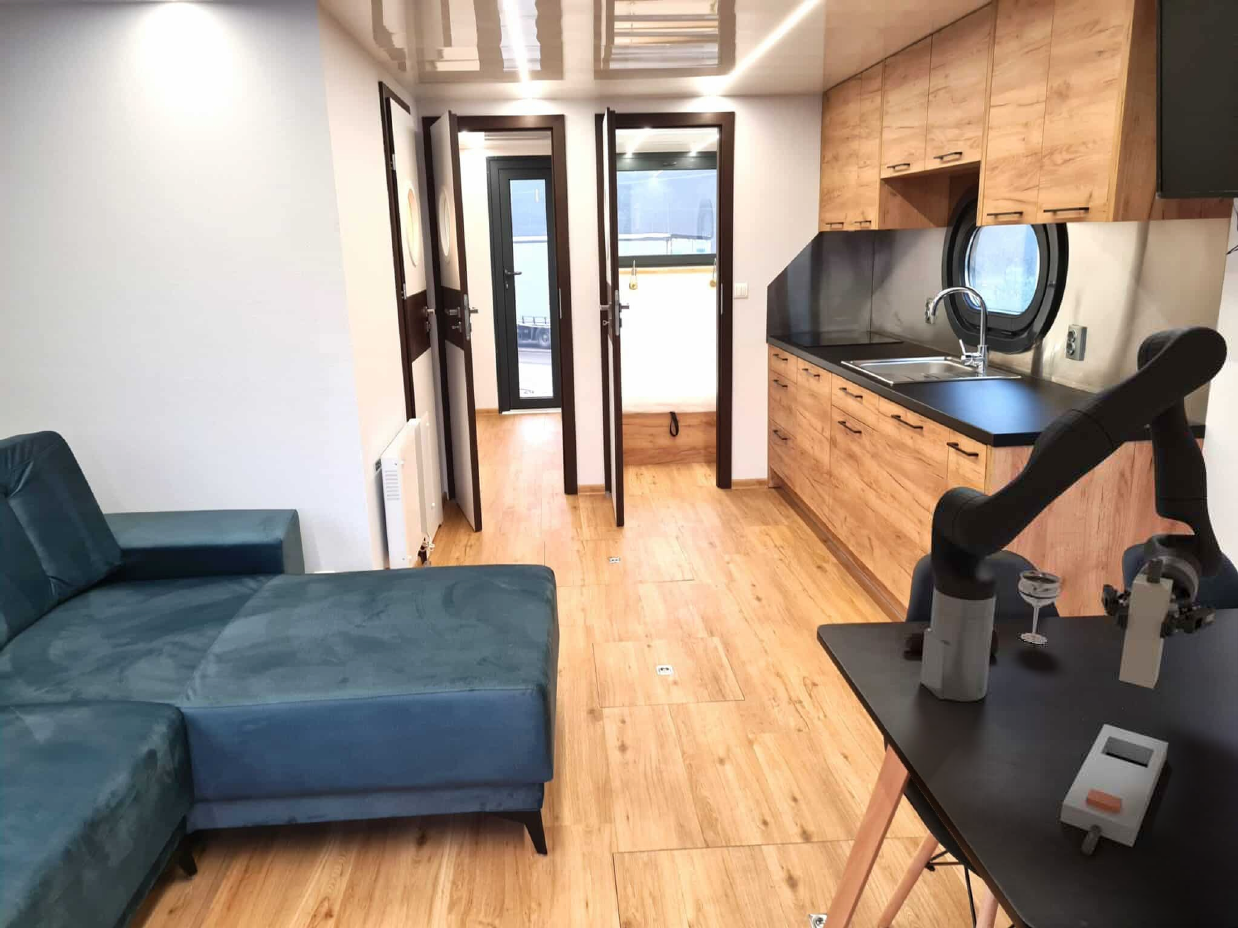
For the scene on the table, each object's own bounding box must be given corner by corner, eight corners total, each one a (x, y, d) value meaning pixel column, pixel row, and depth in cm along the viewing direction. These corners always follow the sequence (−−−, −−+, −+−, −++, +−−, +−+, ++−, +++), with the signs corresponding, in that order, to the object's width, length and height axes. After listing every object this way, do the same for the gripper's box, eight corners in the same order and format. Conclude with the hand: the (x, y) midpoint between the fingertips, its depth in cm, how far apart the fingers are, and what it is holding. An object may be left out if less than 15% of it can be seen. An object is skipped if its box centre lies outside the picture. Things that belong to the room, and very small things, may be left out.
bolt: (905, 659, 159) (990, 657, 158) (913, 657, 154) (1000, 654, 153) (901, 626, 160) (985, 624, 160) (909, 623, 155) (995, 621, 155)
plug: (1152, 688, 117) (1171, 567, 112) (1118, 679, 119) (1135, 560, 115) (1158, 677, 120) (1176, 558, 116) (1124, 668, 122) (1141, 552, 118)
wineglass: (1061, 645, 160) (1069, 582, 157) (1028, 648, 158) (1035, 585, 155) (1037, 629, 166) (1044, 569, 163) (1005, 632, 165) (1011, 572, 162)
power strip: (1123, 869, 103) (1127, 844, 102) (1049, 840, 108) (1052, 817, 107) (1165, 758, 125) (1169, 737, 124) (1102, 739, 129) (1105, 718, 129)
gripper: (1113, 552, 132) (1086, 587, 119) (1228, 574, 123) (1212, 614, 110) (1106, 599, 133) (1080, 639, 120) (1219, 624, 125) (1203, 669, 112)
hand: (1143, 626), depth 115 cm, fingers closed on plug, 4 cm apart
